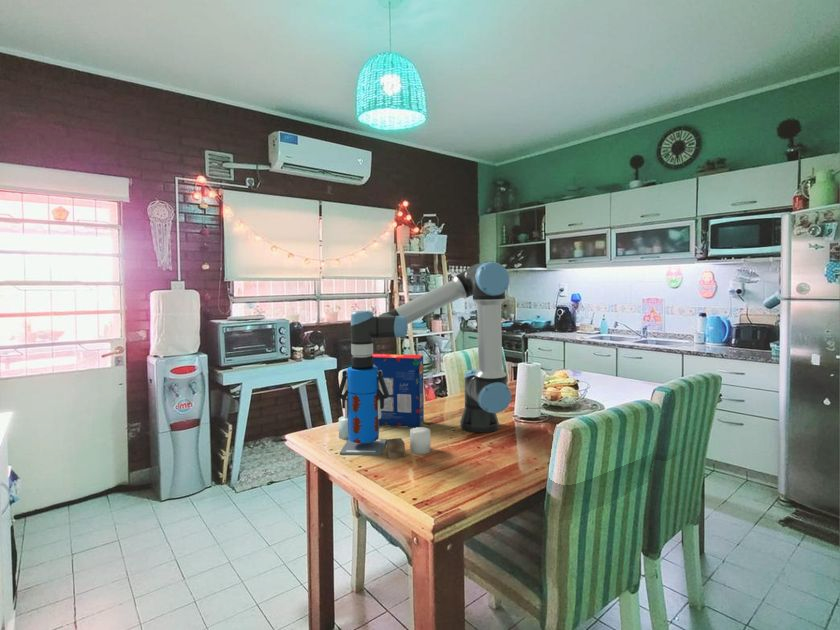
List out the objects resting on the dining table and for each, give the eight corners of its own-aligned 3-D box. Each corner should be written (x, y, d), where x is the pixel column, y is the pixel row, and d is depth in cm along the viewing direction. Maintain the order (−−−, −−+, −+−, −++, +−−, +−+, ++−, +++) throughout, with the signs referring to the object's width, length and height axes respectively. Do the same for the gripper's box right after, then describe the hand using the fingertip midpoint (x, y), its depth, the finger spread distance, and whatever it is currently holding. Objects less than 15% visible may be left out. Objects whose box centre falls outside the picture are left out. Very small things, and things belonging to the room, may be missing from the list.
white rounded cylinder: (430, 446, 160) (430, 427, 160) (430, 454, 153) (429, 434, 153) (411, 446, 161) (410, 427, 160) (409, 454, 154) (409, 433, 153)
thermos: (370, 445, 153) (369, 371, 152) (342, 441, 157) (341, 369, 155) (384, 435, 163) (383, 366, 162) (357, 431, 167) (356, 364, 165)
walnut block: (401, 452, 156) (400, 437, 155) (404, 457, 151) (404, 442, 150) (386, 453, 154) (386, 439, 154) (389, 459, 149) (389, 444, 149)
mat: (386, 440, 167) (386, 438, 167) (380, 455, 153) (380, 453, 153) (348, 439, 168) (348, 438, 168) (339, 454, 154) (339, 452, 154)
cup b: (359, 433, 175) (359, 415, 174) (355, 439, 168) (355, 421, 168) (341, 433, 175) (341, 415, 175) (337, 439, 168) (336, 421, 168)
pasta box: (423, 421, 189) (423, 355, 187) (419, 427, 181) (418, 358, 179) (359, 418, 195) (358, 353, 193) (353, 423, 187) (351, 356, 185)
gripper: (396, 353, 161) (397, 414, 162) (332, 353, 162) (333, 414, 164) (394, 357, 153) (395, 421, 155) (326, 357, 155) (327, 420, 156)
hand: (363, 417), depth 159 cm, fingers closed on thermos, 11 cm apart
